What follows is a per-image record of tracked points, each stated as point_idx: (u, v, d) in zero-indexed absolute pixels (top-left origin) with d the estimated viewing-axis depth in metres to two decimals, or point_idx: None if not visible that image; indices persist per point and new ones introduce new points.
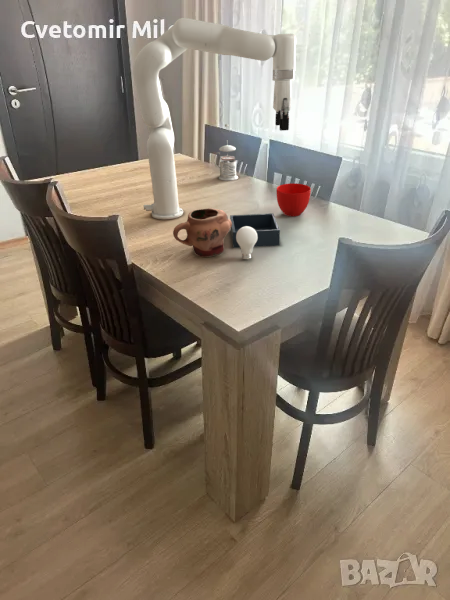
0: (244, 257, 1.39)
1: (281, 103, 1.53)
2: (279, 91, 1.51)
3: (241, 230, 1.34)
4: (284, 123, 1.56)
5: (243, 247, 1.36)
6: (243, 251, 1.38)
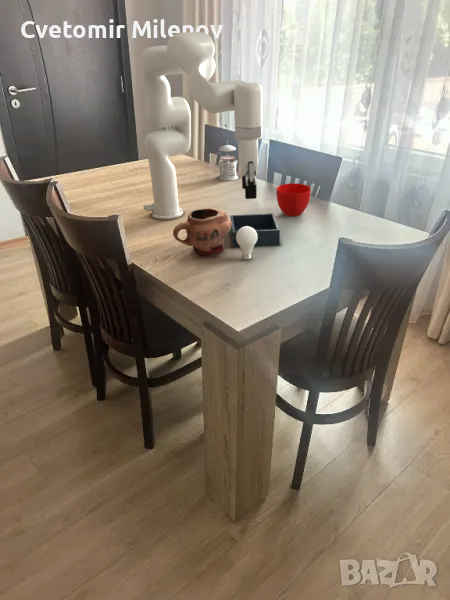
0: (244, 257, 1.39)
1: (246, 167, 1.23)
2: (243, 153, 1.21)
3: (241, 230, 1.34)
4: (250, 191, 1.25)
5: (243, 247, 1.36)
6: (243, 251, 1.38)
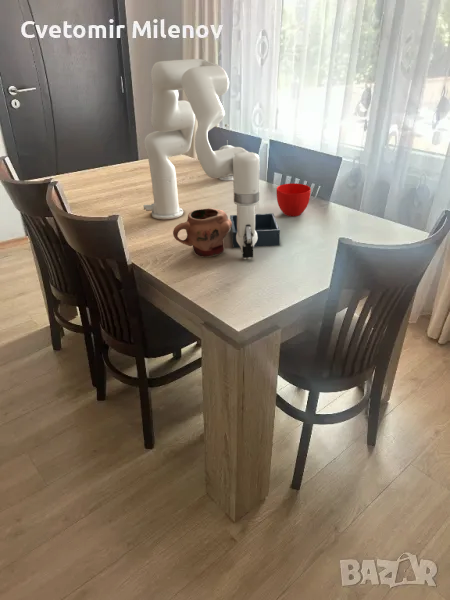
0: None
1: (243, 230, 1.30)
2: (241, 217, 1.28)
3: None
4: (247, 251, 1.34)
5: None
6: None
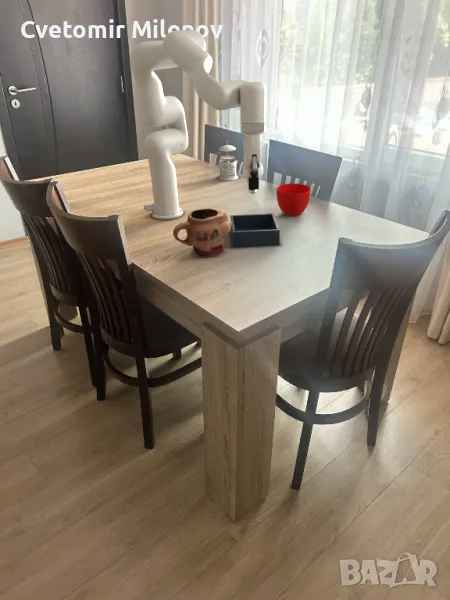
0: (250, 191, 1.43)
1: (250, 160, 1.34)
2: (247, 146, 1.32)
3: None
4: (253, 183, 1.38)
5: None
6: None
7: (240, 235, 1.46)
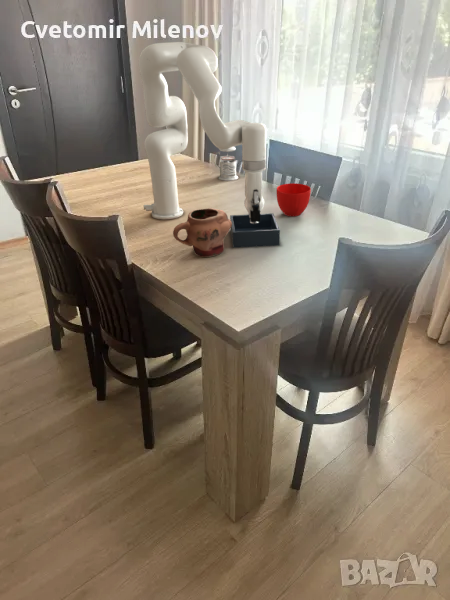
0: (252, 222, 1.51)
1: (251, 194, 1.42)
2: (249, 182, 1.40)
3: None
4: (255, 215, 1.46)
5: None
6: None
7: (240, 235, 1.46)
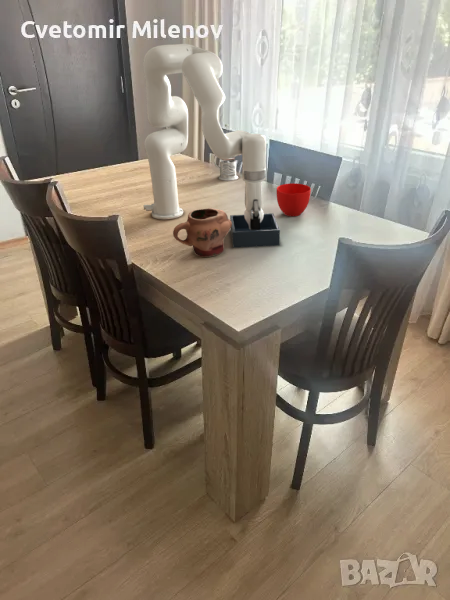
0: None
1: (251, 204, 1.44)
2: (249, 192, 1.42)
3: None
4: (255, 223, 1.47)
5: None
6: None
7: (240, 235, 1.46)
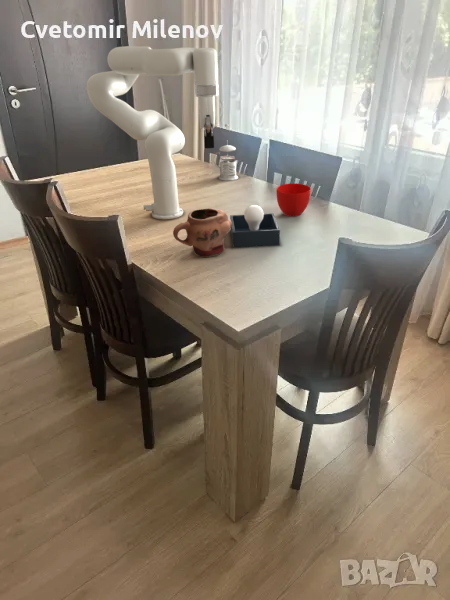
0: None
1: (204, 120, 1.46)
2: (201, 108, 1.44)
3: (249, 208, 1.49)
4: (208, 141, 1.48)
5: (251, 224, 1.50)
6: (251, 228, 1.52)
7: (240, 235, 1.46)
